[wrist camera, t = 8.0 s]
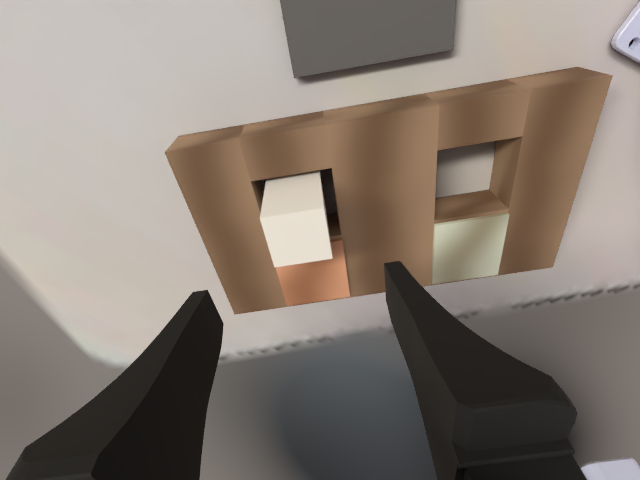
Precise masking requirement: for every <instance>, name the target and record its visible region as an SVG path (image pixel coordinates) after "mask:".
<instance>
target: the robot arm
mask: <svg viewBox="0 0 640 480" xmlns="http://www.w3.org/2000/svg"><path fill="white" fill-rule="evenodd" d="M633 38H634V41H633V43H632V45H631V46H630V47H629V43H630V41H631V40H632V39H633ZM611 45H612V47H613V49H615V50H617V51H618V52H620V53H622V54H624V55H625V56H627V57H629V58H631V59H632V60H634V61H636V62H638V63H640V1H639V3H638V4H637V5H636V7H635V8H634V9H633V11H632V12H631V13H630V15H629V16H628V17H627V19H626V20H625V21H624V23H623V24H622V25H621V27H620V28H619V29H618V31H617V32H616V33H615V35H614V37H613V38H612V42H611ZM384 273H385V289H386V301H387V305H388V310H389V314H390V318H391V322H392V325H393V328H394V330H395V333H396V336H397V338H398V341H399V344H400V347H401V349H402V352H403V354H404V357H405V360H406V363H407V366H408V368H409V371H410V374H411V377H412V380H413V383H414V387H415V391H416V395H417V398H418V402H419V406H420V410H421V414H422V418H423V422H424V426H425V430H426V434H427V438H428V442H429V446H430V450H431V454H432V458H433V462H434V467H435V471H436V475H437V479H438V480H640V466H639V465H638V464H637V462H636V461H635V460H634V459H633V458H630V457H626V458H617V459H609V460H601V461H593V462H589V463H586V464H583V465H582V466H580V467H579V466H578V465H577V463H576V461H575V459H574V457H573V456H572V455H573V454H574V453H575V452H574V449H573V447H572V445H571V444H570V442H569V440H568V439H567V436H568V434H569V432H570V430H571V429H572V427H573V425H574V423H575V420H576V417H577V411H576V408H575V407H574V405H573V404H572V403H571V401H570V399H569V398H568V397H567V395H566V394H565V393H564V391H563V390H562V389H561V388H560V386H559V385H558V384H557V383H556V382H555V381H554V379H553V378H552V377H551V376H549V375H547V374H545V373H543V372H541V371H539V370H537V369H535V368H533V367H531V366H529V365H527V364H525V363H523V362H521V361H519V360H517V359H515V358H514V357H512V356H510V355H508V354H507V353H505V352H503V351H502V350H500V349H499V348H497V347H495V346H494V345H492V344H490V343H489V342H487V341H486V340H484V339H483V338H481V337H480V336H478V335H477V334H476V333H474V332H473V331H472V330H470V329H469V328H467V327H466V326H465V325H463V324H462V323H461V322H460V321H458V320H457V319H456V318H455V317H454V316H452V315H451V314H450V313H449V312H448V311H447V310H446V309H444V308H443V307H442V306H441V305H440V304H439V303H438V302H437V301H436V300H435V299H434V298H433V297H432V296H431V295H430V294H429V293H428V292H427V291H426V290H425V289H424V288H423V287H422V286H421V285H420V284H419V283H418V282H417V280H416V279H415V278H414V277H413V276H412V275H411V274H410V272H409V271H408V270H407V269H406V267H405V266H404V265H403V263H402V262H400V261H395V262H388V263H384ZM222 334H223V322H222V320H221V317H220V315H219V313H218V311H217V309H216V307H215V305H214V303H213V301H212V298H211V296H210V294H209V292H208V290H204V291H198V292H193V293H192V294H191V295H190V296H189V298H188V299H187V300H186V301H185V303H184V304H183V305H182V306H181V308H180V309H179V310H178V312H177V313H176V314H175V315H174V317H173V318H172V319H171V320H170V321H169V323H168V324H167V325H166V326H165V328H164V329H163V330H162V331H161V332H160V334H159V335H158V336H157V337H156V338H155V339H154V340H153V342H152V343H151V344H150V345H149V346H148V347H147V348H146V349H145V351H144V352H143V353H142V354H141V355H140V356H139V357H138V358H137V359H136V360H135V361H134V362H133V363H132V364H131V365H130V366H129V367H128V368H127V369H126V370H125V371H124V372H123V373H122V374H121V375H120V376H119V377H118V378H117V379H116V380H114V381H113V382H112V383H111V384H110V385H109V386H107V387H106V388H105V389H104V390H103V391H102V392H100V393H99V394H98V395H97V396H96V397H95V398H94V399H92V400H91V401H90V402H88V403H87V404H86V405H85V406H83V407H82V408H81V409H80V410H78V411H77V412H76V413H74V414H73V415H71V416H70V417H69V418H68V419H66V420H65V421H63V422H62V423H61V424H59V425H58V426H56V427H55V428H54V429H52V430H51V431H49V432H48V433H46V434H45V435H43V436H42V437H40V438H39V439H37V440H36V441H34V442H33V443H31V444H30V445H28V446H27V447H25V449H24V451H23V452H22V454H21V455H20V457H19V459H18V460H17V462H16V464H15V465H14V467H13V468H12V470H11V472H10V473H9V475H8V477H7V478H6V480H199V477H200V465H201V454H202V445H203V435H204V428H205V419H206V412H207V407H208V402H209V397H210V392H211V388H212V384H213V380H214V376H215V372H216V367H217V363H218V359H219V355H220V350H221V344H222Z"/></svg>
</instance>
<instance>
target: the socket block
mask: <svg viewBox="0 0 640 480" xmlns="http://www.w3.org/2000/svg"><path fill="white" fill-rule="evenodd" d="M611 79H612V75H608V74H604V73H600V72H596V71H592V70H588V69H584V68H580V67H574V68H569V69H563V70H557V71H551V72H546V73H540V74H534V75H528V76H522V77H517V78H511V79H505V80H499V81H494V82H488V83H482V84H476V85H471V86H465V87H459V88H453V89H448V90H442V91H436V92H430V93H424V94H419V95H413V96H407V97H401V98H396V99H390V100H384V101H378V102H373V103H367V104H361V105H355V106H349V107H344V108H338V109H332V110H326V111H321V112H315V113H309V114H303V115H298V116H292V117H286V118H280V119H274V120H269V121H263V122H257V123H251V124H246V125H240V126H234V127H228V128H223V129H217V130H211V131H205V132H199V133H194V134H188V135H182V136H178V137H177V139H176V140H175V141H174V142H173V143H172V145H171V146H170V147H169V148H168V149H167V150H166V152H165V154H166V157H167V159H168V161H169V164H170V166H171V168H172V170H173V173H174V175H175V177H176V180H177V182H178V184H179V187H180V189H181V191H182V194H183V196H184V198H185V200H186V203H187V205H188V207H189V210H190V212H191V214H192V217H193V219H194V221H195V224H196V226H197V228H198V231H199V233H200V235H201V237H202V240H203V242H204V244H205V247H206V249H207V251H208V254H209V256H210V258H211V261H212V263H213V265H214V268H215V270H216V272H217V274H218V277H219V279H220V281H221V284H222V286H223V288H224V291H225V293H226V295H227V298H228V300H229V302H230V305H231V307H232V309H233V311H234V314H241V313H248V312H254V311H261V310H268V309H275V308H281V307H288V306H295V305H302V304H308V303H315V302H322V301H328V300H335V299H342V298H349V297H355V296H362V295H369V294H376V293H382V292H386V289H385V273H384V263H388V262H395V261H400V262H402V263H403V265H404V266H405V267H406V269H407V270H408V271H409V272H410V274H411V275H412V276H413V277H414V278H415V279H416V280H417V282H418V283H419V284H420V285H421V286H422V287H423V286H429V285H436V284H443V283H450V282H456V281H463V280H470V279H477V278H483V277H490V276H497V275H503V274H510V273H517V272H524V271H530V270H537V269H544V268H551V267H553V265H554V262H555V259H556V255H557V252H558V249H559V246H560V242H561V239H562V236H563V233H564V230H565V226H566V223H567V220H568V217H569V214H570V210H571V207H572V204H573V201H574V198H575V194H576V191H577V188H578V185H579V182H580V178H581V175H582V172H583V169H584V166H585V162H586V159H587V156H588V153H589V149H590V146H591V143H592V140H593V137H594V133H595V130H596V127H597V124H598V121H599V117H600V114H601V111H602V108H603V105H604V101H605V98H606V95H607V92H608V89H609V85H610V82H611ZM491 141H497V142H496V149H495V156H494V162H493V169H492V176H491V183H490V190H484V191H478V192H472V193H466V194H459V195H453V196H447V197H441V198H435V192H436V171H437V150H443V149H449V148H455V147H461V146H467V145H473V144H479V143H485V142H491ZM329 168H331V173H332V179H333V186H334V193H335V200H336V207H337V214H334V215H328V216H327V221H328V228H329V235H330V243H331V250H332V258H333V259H327V260H321V261H314V262H308V263H301V264H294V265H288V266H281V267H275V268H274V264H273V261H272V258H271V254H270V251H269V248H268V244H267V241H266V238H265V234H264V231H263V228H262V224H261V221H260V213H261V207H262V201H263V195H264V192H263V189H262V185H261V181H260V180H262V179H268V178H274V177H280V176H286V175H292V174H298V173H304V172H310V171H316V170H323V169H329Z"/></svg>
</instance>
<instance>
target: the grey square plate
mask: <svg viewBox="0 0 640 480" xmlns="http://www.w3.org/2000/svg"><path fill="white" fill-rule="evenodd" d="M280 3H281V8H282V14H283V19H284V25H285V31H286V36H287V42H288V47H289V53H290V58H291V64H292V69H293V75H294V78H297V77H303V76H308V75H314V74H319V73H325V72H331V71H336V70H342V69H347V68H353V67H359V66H364V65H370V64H375V63H381V62H387V61H392V60H398V59H403V58H409V57H415V56H420V55H426V54H432V53H437V52H443V51H448V50H453V40H454V24H455V8H456V0H280Z"/></svg>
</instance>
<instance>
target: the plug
mask: <svg viewBox="0 0 640 480" xmlns="http://www.w3.org/2000/svg"><path fill="white" fill-rule="evenodd" d="M260 221H261V224H262V228H263V231H264V234H265V238H266V241H267V244H268V248H269V251H270V254H271V258H272V261H273V264H274V268H275V267H281V266H288V265H294V264H301V263H308V262H314V261H321V260H327V259H333V258H332V250H331V243H330V235H329V228H328V221H327V213H326V206H325V199H324V193H323V187H322V181H321V174H320V170H316V171H310V172H304V173H298V174H292V175H286V176H280V177H274V178H268V179H266V183H265V189H264V195H263V201H262V207H261V213H260Z"/></svg>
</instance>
